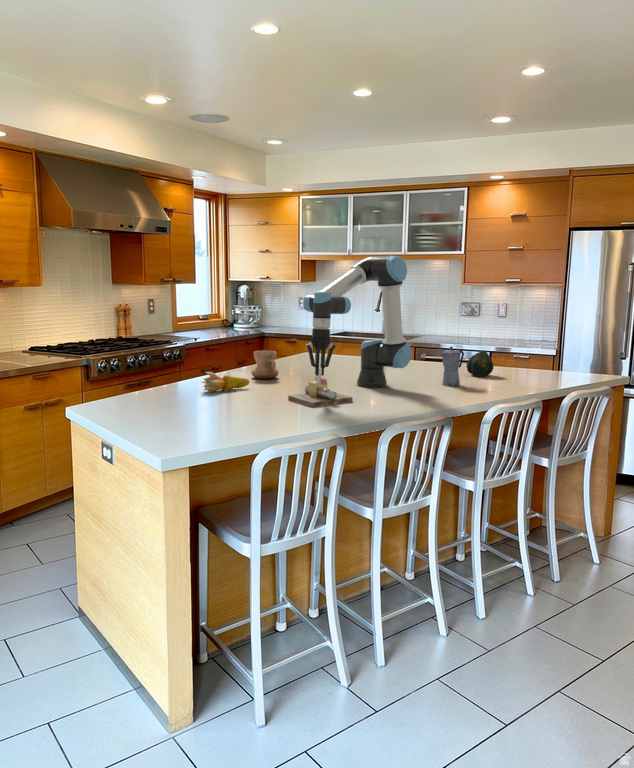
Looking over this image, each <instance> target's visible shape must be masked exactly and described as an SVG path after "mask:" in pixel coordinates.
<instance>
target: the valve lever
mask: <svg viewBox="0 0 634 768" xmlns="http://www.w3.org/2000/svg"><path fill="white" fill-rule="evenodd" d="M314 381H317V376H316V375H315V374H314ZM321 384H322V385H327V386H328V380H327V378H325V377H323V376H321Z"/></svg>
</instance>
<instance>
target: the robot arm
mask: <svg viewBox="0 0 634 768" xmlns="http://www.w3.org/2000/svg"><path fill="white" fill-rule="evenodd" d="M407 274H408V267H407V263H406V261H405V260H404V259H403V258H402V257H401V256H399V255H398V256H397V255H378V256H377V255H372V256H369V257H366V258H364V259H362V260H361V261H358V262H357V263H356V264H354V265H352V266H351V267H350V268H349V270H348V272H346V273H345V274H343V275H342V276H340V277H338V278H337V279H336V280H335V281H333V282H332V283H330V284H328V286H325V287H324V288H323V289H322V290H320V291H318V290H317V291H315V292H314V293H313V294H309V295H306V296H305V297H304V299H303V302H302V305H303V309H304V310H305V311H306V312H308V313H312V329H311V330H312V332H311V333H312V334H311V340H310V342H308V343H306V344H305V347H306V350H307V351H308V357H309V361H310V366H311V367H314V370H315V371H314V376H315V375H316V376H317V383H318V384H321V377H324V375H325V373H324V372H325V368H328V367H329V366H330V365H329V364H330V362H331V358H332V356H333V351H334V350H335V349H336V345H335V344H333V343H332V341H331V336H330V335H331V329H330V327H331V318H332V317H331V316H332V315H344V314H348V313H349V312H350V311H351V308H352V302H351V300H350V298H348V296H347V297H346V296H344V295H346V294H347V293H348V292H350V291H351V290H353V289H355V287H357V286H358V285H363V284H365V283H368V282H375V281H376V282H377V287H379V288H380V290H381V301H382V302H381V303H382V312H383V313H382V314H383V328H384V329H383V330H384V338H383V339H372V340H364V341H362V343H361V347H360V371H359V373H358V378H357V380H356V385H357V386H358V385H359V386H360V387H364V388H384V387H387V385H388V381H387V377H386V374H385V371H384V368H385V367H386V368H394V369H404V368H406V367H407V366H408V364H409V363H410V361H411V359H412V355H413V352H412V348H411V346H410V345H408V344H407V339H406V338H405V337H404V335H403V324H402V323H403V320H402V305H401V303H402V302H401V286H403V283H404V280H406V278H407ZM312 348H314V349H315V353H314V354H313V349H312ZM327 349H328V351H327ZM326 351H327V355H326ZM314 356H315V357H314ZM359 386H358V387H359Z"/></svg>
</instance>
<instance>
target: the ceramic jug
mask: <svg viewBox="0 0 634 768" xmlns="http://www.w3.org/2000/svg"><path fill="white" fill-rule="evenodd" d="M276 357H277V352H276V351H275V350H255V351H253V358H254V361H255V363H256V366H255V367H254V368H253V369H252V370H251V376H252V377H254V378H256V379H258V378H259V379H260V380H271V379H274V378H276V377H278V375H279V370H278V368H277V364H276Z"/></svg>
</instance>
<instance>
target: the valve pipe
mask: <svg viewBox="0 0 634 768" xmlns="http://www.w3.org/2000/svg"><path fill="white" fill-rule="evenodd" d="M304 392H305V393H306V394H308V395H309V396H313V397H322V398H327V399H331V400H335V399H336V397H337V394H336V393H337V392H336V391H333V390H331V389H329V388H328V384H327V385H322V384H318V383H317V381H316V380H314V381H308V383H307V384H306V385H305V387H304ZM305 393H304V394H305Z"/></svg>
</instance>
